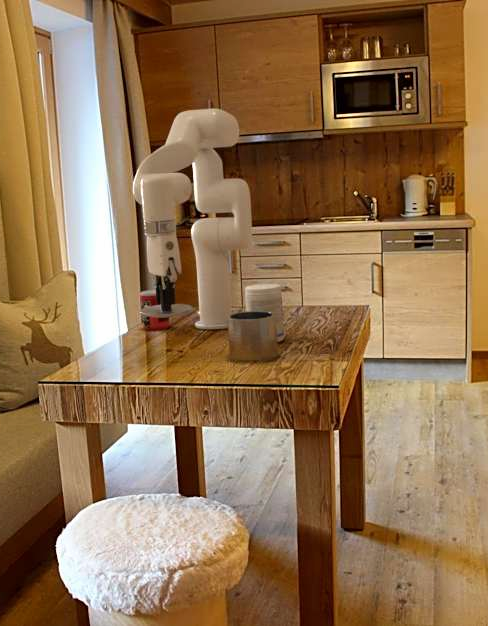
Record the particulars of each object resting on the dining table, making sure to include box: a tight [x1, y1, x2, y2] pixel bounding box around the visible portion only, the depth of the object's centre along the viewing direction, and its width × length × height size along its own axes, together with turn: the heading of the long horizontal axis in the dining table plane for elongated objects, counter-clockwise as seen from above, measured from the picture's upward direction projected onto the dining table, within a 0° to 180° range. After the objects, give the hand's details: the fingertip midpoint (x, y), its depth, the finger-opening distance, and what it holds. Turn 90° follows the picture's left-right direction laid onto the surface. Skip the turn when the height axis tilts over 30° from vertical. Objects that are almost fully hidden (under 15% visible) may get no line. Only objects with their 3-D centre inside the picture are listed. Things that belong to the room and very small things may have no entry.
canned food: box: [139, 289, 170, 332], centre depth 245 cm, size 8×8×11 cm
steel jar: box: [227, 310, 279, 362], centre depth 200 cm, size 12×12×10 cm
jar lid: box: [139, 285, 194, 318], centre depth 200 cm, size 13×13×7 cm
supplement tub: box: [244, 283, 285, 343], centre depth 218 cm, size 10×10×15 cm
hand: (165, 303), depth 200 cm, fingers closed on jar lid, 2 cm apart
